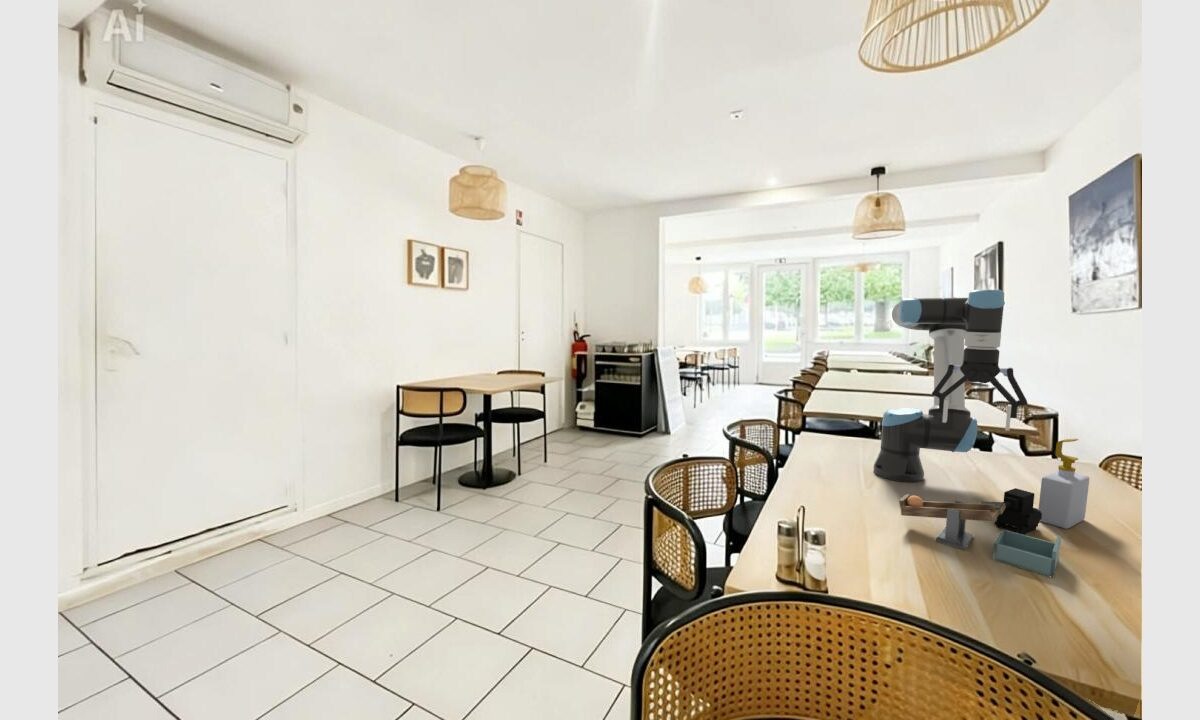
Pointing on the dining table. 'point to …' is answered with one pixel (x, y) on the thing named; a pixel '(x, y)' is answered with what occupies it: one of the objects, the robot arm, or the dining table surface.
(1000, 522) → the toy
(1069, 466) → the soap bottle
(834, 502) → the dining table surface
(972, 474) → the dining table surface
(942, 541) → the stand
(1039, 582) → the dining table surface
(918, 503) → the ball
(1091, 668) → the dining table surface
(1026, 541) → the tray
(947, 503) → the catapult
